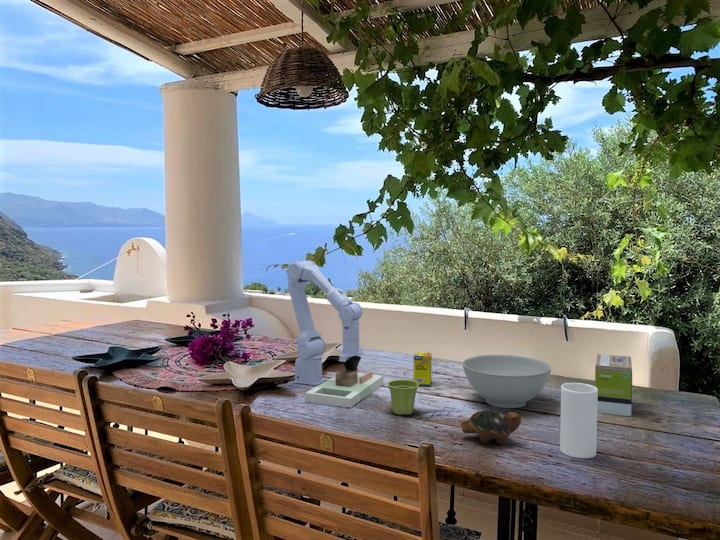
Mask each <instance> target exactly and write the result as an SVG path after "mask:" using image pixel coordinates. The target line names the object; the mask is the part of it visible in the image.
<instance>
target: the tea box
mask: <svg viewBox="0 0 720 540" xmlns="http://www.w3.org/2000/svg"><path fill="white" fill-rule="evenodd" d="M632 367H633V366H632V358H631V356H628V355H627V356H626V355H614V354H613V355H611V354H600V353H599V354H598V353H597V356H596V361H595V368H594V370H595V373H594V387H596V388H597V389H598V400H597V414H598V413H599V414H606V415H613V416H615V415H616V416H621V417H622V416H624V417H632V407H633V405H632V404H633V368H632Z"/></svg>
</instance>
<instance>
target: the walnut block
mask: <svg viewBox="0 0 720 540" xmlns="http://www.w3.org/2000/svg"><path fill="white" fill-rule="evenodd" d="M357 373H358V370H356V371H350V370H346V369H341V370H340V371H338V372H336V373H335V376H336V386H345V387H352V386H353V385H355V384H356V383H357Z"/></svg>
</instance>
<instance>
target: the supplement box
mask: <svg viewBox="0 0 720 540" xmlns="http://www.w3.org/2000/svg"><path fill="white" fill-rule="evenodd" d="M432 354H433V353H432V352H424V351H423V352H422V351H421V352H420V351H415V353H414V354H413V381H415V382H417V383H418V384H419V386H418V387H427V388H429V387H431V384H432Z"/></svg>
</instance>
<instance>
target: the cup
mask: <svg viewBox="0 0 720 540" xmlns="http://www.w3.org/2000/svg"><path fill="white" fill-rule="evenodd" d="M597 400H598V389H597V388H596V387H595V385H591V384H588V383H583V382H565V383H562V385H561V386H560V431H559V432H560V435H559V450H560V452H561V453H563V454H564V455H567V456H569V457H571V458H577V459H591V458H594V457H596V455H597V441H598V438H597V437H598V435H597V433H598V431H597V430H598V412H597Z"/></svg>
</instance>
